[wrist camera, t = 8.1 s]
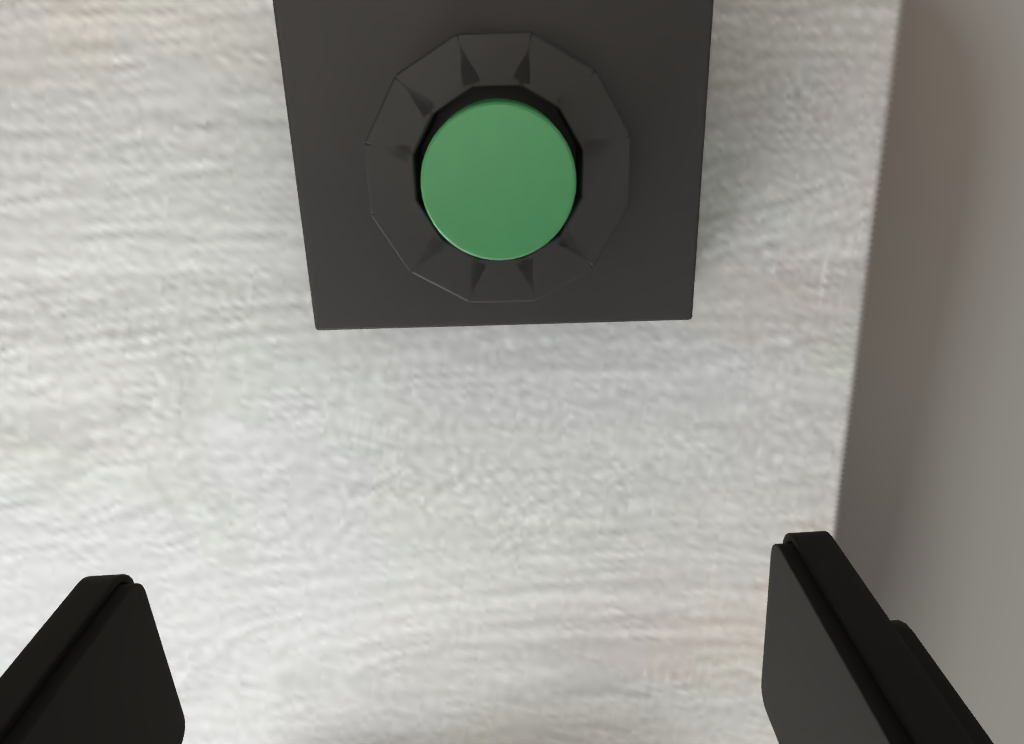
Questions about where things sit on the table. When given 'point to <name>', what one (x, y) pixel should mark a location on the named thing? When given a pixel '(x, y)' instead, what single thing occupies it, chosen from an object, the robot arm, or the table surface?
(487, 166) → the release button
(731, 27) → the table surface
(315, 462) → the table surface
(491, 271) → the box
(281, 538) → the table surface
